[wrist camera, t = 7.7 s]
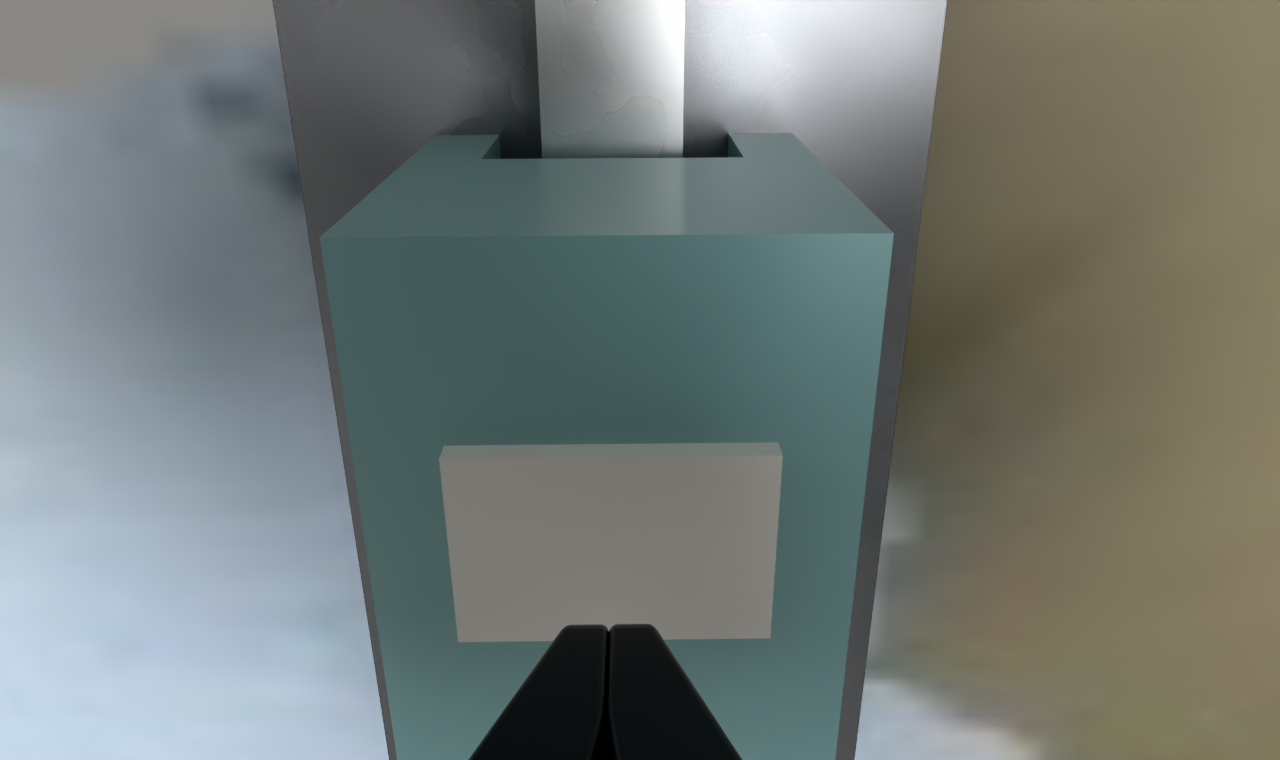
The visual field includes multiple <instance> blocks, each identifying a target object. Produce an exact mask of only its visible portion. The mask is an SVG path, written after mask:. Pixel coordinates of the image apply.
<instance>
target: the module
mask: <svg viewBox="0 0 1280 760" xmlns="http://www.w3.org/2000/svg"><path fill="white" fill-rule="evenodd" d="M893 237H894V233H893V232H892V231H891V230H890V229H889V228H888V227H887V226H886V225H885V224H884V223H883V222H882V221H881V220H880V219H879V218H878V217H877V216H876V215H875V214H874V213H873V212H872V211H871V210H870V209H869V208H868V207H867V206H866V205H865V204H864V203H863V202H862V201H861V200H860V199H859V198H858V197H857V196H856V195H854V194H853V193H852V192H851V191H850V190H849V189H848V188H847V187H846V186H845V185H844V184H843V183H842V182H841V181H840V180H839V179H838V178H837V177H836V176H835V175H834V174H833V173H832V172H831V171H830V170H829V169H828V168H827V167H826V166H825V165H824V164H823V163H822V162H821V161H820V160H819V159H818V158H817V157H816V156H815V155H814V154H813V153H812V152H811V151H810V150H809V149H808V148H807V147H806V146H805V145H804V144H803V143H802V142H801V141H800V140H799V139H798V138H797V137H795V136H794V135H793V134H792V133H745V134H729V139H728V158H564V159H501V154H500V139H499V135H435V136H434V137H433V138H432V139H430V140H429V141H428V142H427V143H426V144H425V145H424V146H423V147H421V148H420V149H419V150H418V151H417V152H416V153H415V154H413V155H412V156H411V157H410V158H409V159H408V160H407V161H406V162H404V163H403V164H402V165H401V166H400V167H399V168H398V169H397V170H395V171H394V172H393V173H392V174H391V175H390V176H389V177H387V178H386V179H385V180H384V181H383V182H382V183H381V184H380V185H378V186H377V187H376V188H375V189H374V190H373V191H372V192H370V193H369V194H368V195H367V196H366V197H365V198H364V199H363V200H361V201H360V202H359V203H358V204H357V205H356V206H355V207H353V208H352V209H351V210H350V211H349V212H348V213H347V214H346V215H344V216H343V217H342V218H341V219H340V220H339V221H338V222H337V223H335V224H334V225H333V226H332V227H331V228H330V229H329V230H327V231H326V232H325V233H324V234H323V235H322V236H321V237H320V243H321V249H322V256H323V263H324V270H325V276H326V283H327V290H328V297H329V303H330V310H331V317H332V324H333V330H334V337H335V344H336V351H337V357H338V364H339V371H340V378H341V384H342V391H343V398H344V405H345V411H346V418H347V425H348V432H349V438H350V445H351V452H352V459H353V465H354V472H355V479H356V486H357V492H358V499H359V506H360V513H361V519H362V526H363V533H364V540H365V546H366V553H367V560H368V567H369V573H370V580H371V587H372V594H373V600H374V607H375V614H376V621H377V627H378V634H379V641H380V648H381V654H382V661H383V668H384V675H385V681H386V688H387V695H388V702H389V708H390V715H391V722H392V729H393V735H394V742H395V749H396V756H397V760H468V759H469V758H470V756H471V755H472V754H473V752H474V751H475V749H476V748H477V747H478V745H479V744H480V742H481V741H482V740H483V738H484V737H485V735H486V734H487V733H488V731H489V730H490V728H491V727H492V726H493V724H494V723H495V721H496V720H497V719H498V717H499V716H500V715H501V713H502V712H503V710H504V709H505V708H506V706H507V705H508V703H509V702H510V701H511V699H512V698H513V696H514V695H515V694H516V692H517V691H518V689H519V688H520V687H521V685H522V684H523V682H524V681H525V680H526V678H527V677H528V675H529V674H530V673H531V671H532V670H533V669H534V667H535V666H536V664H537V663H538V662H539V660H540V659H541V657H542V656H543V655H544V653H545V652H546V650H547V649H548V648H549V646H550V645H551V643H552V642H553V641H554V639H555V638H556V636H557V635H558V634H559V632H560V631H561V630H562V629H563V628H564V627H565V626H567V625H583V624H602V625H605V626H606V627H607V628H608V630H610V628H611V627H612V626H613V625H615V624H651V625H653V626H654V627H655V628H656V629H657V630H658V632H659V633H660V635H661V636H662V638H663V639H664V641H665V642H666V644H667V646H668V647H669V649H670V650H671V652H672V653H673V655H674V656H675V658H676V659H677V661H678V662H679V664H680V665H681V667H682V668H683V670H684V671H685V673H686V674H687V676H688V678H689V679H690V681H691V682H692V684H693V685H694V687H695V688H696V690H697V691H698V693H699V694H700V696H701V697H702V699H703V700H704V702H705V703H706V705H707V707H708V708H709V710H710V711H711V713H712V714H713V716H714V717H715V719H716V720H717V722H718V723H719V725H720V726H721V728H722V729H723V731H724V732H725V734H726V735H727V737H728V739H729V740H730V742H731V743H732V745H733V746H734V748H735V749H736V751H737V752H738V754H739V755H740V757H741V758H742V760H835V757H836V748H837V739H838V730H839V721H840V712H841V703H842V694H843V685H844V676H845V667H846V658H847V649H848V640H849V632H850V623H851V614H852V605H853V596H854V587H855V578H856V569H857V560H858V551H859V542H860V533H861V524H862V515H863V506H864V497H865V488H866V479H867V470H868V461H869V452H870V443H871V434H872V425H873V416H874V407H875V398H876V390H877V381H878V372H879V363H880V354H881V345H882V336H883V327H884V318H885V309H886V300H887V291H888V282H889V273H890V264H891V255H892V246H893Z"/></svg>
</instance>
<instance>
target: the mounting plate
mask: <svg viewBox="0 0 1280 760" xmlns="http://www.w3.org/2000/svg"><path fill="white" fill-rule="evenodd" d="M946 4H947V0H273V6H274V13H275V19H276V26H277V32H278V39H279V45H280V52H281V58H282V65H283V71H284V78H285V84H286V91H287V97H288V104H289V110H290V117H291V123H292V130H293V136H294V143H295V149H296V156H297V162H298V169H299V175H300V182H301V188H302V195H303V201H304V208H305V214H306V221H307V228H308V234H309V241H310V247H311V254H312V260H313V267H314V273H315V280H316V286H317V293H318V299H319V306H320V312H321V319H322V325H323V332H324V338H325V345H326V351H327V358H328V364H329V371H330V377H331V384H332V390H333V397H334V403H335V410H336V416H337V423H338V429H339V436H340V442H341V449H342V455H343V462H344V468H345V475H346V481H347V488H348V494H349V501H350V507H351V514H352V520H353V527H354V534H355V540H356V547H357V553H358V560H359V566H360V573H361V579H362V586H363V592H364V599H365V605H366V612H367V618H368V625H369V631H370V638H371V644H372V651H373V657H374V664H375V670H376V677H377V683H378V690H379V696H380V703H381V709H382V716H383V722H384V729H385V735H386V742H387V748H388V755H389V760H397V756H396V749H395V742H394V735H393V729H392V722H391V715H390V708H389V702H388V695H387V688H386V681H385V675H384V668H383V661H382V654H381V648H380V641H379V634H378V627H377V621H376V614H375V607H374V600H373V594H372V587H371V580H370V573H369V567H368V560H367V553H366V546H365V540H364V533H363V526H362V519H361V513H360V506H359V499H358V492H357V486H356V479H355V472H354V465H353V459H352V452H351V445H350V438H349V432H348V425H347V418H346V411H345V405H344V398H343V391H342V384H341V378H340V371H339V364H338V357H337V351H336V344H335V337H334V330H333V324H332V317H331V310H330V303H329V297H328V290H327V283H326V276H325V270H324V263H323V256H322V249H321V243H320V237H321V236H322V235H323V234H324V233H325V232H326V231H327V230H329V229H330V228H331V227H332V226H333V225H334V224H335V223H337V222H338V221H339V220H340V219H341V218H342V217H343V216H344V215H346V214H347V213H348V212H349V211H350V210H351V209H352V208H353V207H355V206H356V205H357V204H358V203H359V202H360V201H361V200H363V199H364V198H365V197H366V196H367V195H368V194H369V193H370V192H372V191H373V190H374V189H375V188H376V187H377V186H378V185H380V184H381V183H382V182H383V181H384V180H385V179H386V178H387V177H389V176H390V175H391V174H392V173H393V172H394V171H395V170H397V169H398V168H399V167H400V166H401V165H402V164H403V163H404V162H406V161H407V160H408V159H409V158H410V157H411V156H412V155H413V154H415V153H416V152H417V151H418V150H419V149H420V148H421V147H423V146H424V145H425V144H426V143H427V142H428V141H429V140H430V139H432V138H433V137H434V136H435V135H499V139H500V154H501V159H564V158H728V139H729V134H745V133H792V134H793V135H794V136H795V137H797V138H798V139H799V140H800V141H801V142H802V143H803V144H804V145H805V146H806V147H807V148H808V149H809V150H810V151H811V152H812V153H813V154H814V155H815V156H816V157H817V158H818V159H819V160H820V161H821V162H822V163H823V164H824V165H825V166H826V167H827V168H828V169H829V170H830V171H831V172H832V173H833V174H834V175H835V176H836V177H837V178H838V179H839V180H840V181H841V182H842V183H843V184H844V185H845V186H846V187H847V188H848V189H849V190H850V191H851V192H852V193H853V194H854V195H856V196H857V197H858V198H859V199H860V200H861V201H862V202H863V203H864V204H865V205H866V206H867V207H868V208H869V209H870V210H871V211H872V212H873V213H874V214H875V215H876V216H877V217H878V218H879V219H880V220H881V221H882V222H883V223H884V224H885V225H886V226H887V227H888V228H889V229H890V230H891V231H892V232H893V233H894V237H893V246H892V255H891V264H890V273H889V282H888V291H887V300H886V309H885V318H884V327H883V336H882V345H881V354H880V363H879V372H878V381H877V390H876V398H875V407H874V416H873V425H872V434H871V443H870V452H869V461H868V470H867V479H866V488H865V497H864V506H863V515H862V524H861V533H860V542H859V551H858V560H857V569H856V578H855V587H854V596H853V605H852V614H851V623H850V632H849V640H848V649H847V658H846V667H845V676H844V685H843V694H842V703H841V712H840V721H839V730H838V739H837V748H836V757H835V760H854V758H855V750H856V741H857V733H858V725H859V717H860V709H861V700H862V692H863V684H864V676H865V668H866V659H867V651H868V643H869V635H870V627H871V618H872V610H873V602H874V594H875V586H876V578H877V569H878V561H879V553H880V545H881V537H882V528H883V520H884V512H885V504H886V496H887V487H888V479H889V471H890V463H891V455H892V446H893V438H894V430H895V422H896V414H897V405H898V397H899V389H900V381H901V373H902V365H903V356H904V348H905V340H906V332H907V324H908V315H909V307H910V299H911V291H912V283H913V274H914V266H915V258H916V250H917V242H918V233H919V225H920V217H921V209H922V201H923V192H924V184H925V176H926V168H927V160H928V152H929V143H930V135H931V127H932V119H933V111H934V102H935V94H936V86H937V78H938V70H939V61H940V53H941V45H942V37H943V29H944V20H945V12H946Z"/></svg>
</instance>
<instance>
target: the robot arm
mask: <svg viewBox="0 0 1280 760" xmlns="http://www.w3.org/2000/svg"><path fill="white" fill-rule="evenodd" d="M468 760H742V758H741V757H740V755H739V754H738V752H737V751H736V749H735V748H734V746H733V745H732V743H731V742H730V740H729V739H728V737H727V735H726V734H725V732H724V731H723V729H722V728H721V726H720V725H719V723H718V722H717V720H716V719H715V717H714V716H713V714H712V713H711V711H710V710H709V708H708V707H707V705H706V703H705V702H704V700H703V699H702V697H701V696H700V694H699V693H698V691H697V690H696V688H695V687H694V685H693V684H692V682H691V681H690V679H689V678H688V676H687V674H686V673H685V671H684V670H683V668H682V667H681V665H680V664H679V662H678V661H677V659H676V658H675V656H674V655H673V653H672V652H671V650H670V649H669V647H668V646H667V644H666V642H665V641H664V639H663V638H662V636H661V635H660V633H659V632H658V630H657V629H656V628H655V627H654V626H653V625H651V624H615V625H613V626H612V627H611V628H610V630H608V628H607V627H606V626H605V625H602V624H583V625H567V626H565V627H564V628H563V629H562V630H561V631H560V632H559V634H558V635H557V636H556V638H555V639H554V641H553V642H552V643H551V645H550V646H549V648H548V649H547V650H546V652H545V653H544V655H543V656H542V657H541V659H540V660H539V662H538V663H537V664H536V666H535V667H534V669H533V670H532V671H531V673H530V674H529V675H528V677H527V678H526V680H525V681H524V682H523V684H522V685H521V687H520V688H519V689H518V691H517V692H516V694H515V695H514V696H513V698H512V699H511V701H510V702H509V703H508V705H507V706H506V708H505V709H504V710H503V712H502V713H501V715H500V716H499V717H498V719H497V720H496V721H495V723H494V724H493V726H492V727H491V728H490V730H489V731H488V733H487V734H486V735H485V737H484V738H483V740H482V741H481V742H480V744H479V745H478V747H477V748H476V749H475V751H474V752H473V754H472V755H471V756H470V758H469V759H468Z"/></svg>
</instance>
